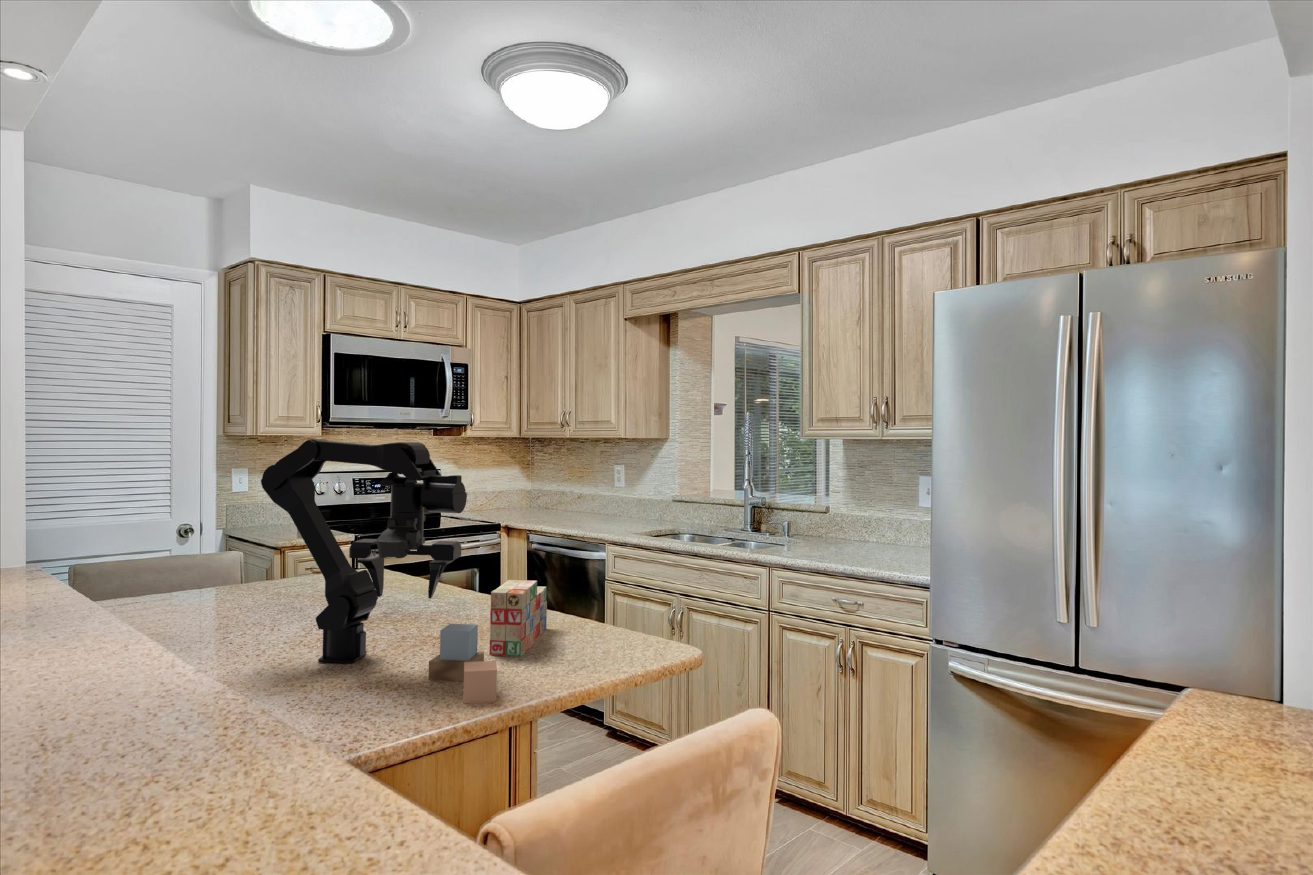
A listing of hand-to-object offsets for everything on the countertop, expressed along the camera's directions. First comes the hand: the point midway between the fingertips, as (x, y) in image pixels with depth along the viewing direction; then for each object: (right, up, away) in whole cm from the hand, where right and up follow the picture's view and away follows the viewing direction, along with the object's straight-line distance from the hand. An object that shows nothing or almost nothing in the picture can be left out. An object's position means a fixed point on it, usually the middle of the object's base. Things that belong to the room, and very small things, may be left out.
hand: (405, 597), depth 136 cm
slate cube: (+11, -9, -5) cm, 15 cm away
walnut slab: (+11, -13, -6) cm, 18 cm away
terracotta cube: (+17, -13, -16) cm, 27 cm away
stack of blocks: (+18, -13, +17) cm, 28 cm away
